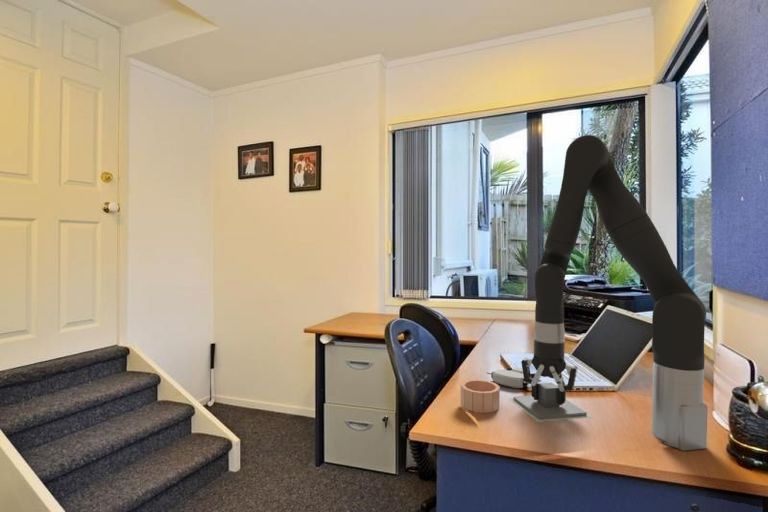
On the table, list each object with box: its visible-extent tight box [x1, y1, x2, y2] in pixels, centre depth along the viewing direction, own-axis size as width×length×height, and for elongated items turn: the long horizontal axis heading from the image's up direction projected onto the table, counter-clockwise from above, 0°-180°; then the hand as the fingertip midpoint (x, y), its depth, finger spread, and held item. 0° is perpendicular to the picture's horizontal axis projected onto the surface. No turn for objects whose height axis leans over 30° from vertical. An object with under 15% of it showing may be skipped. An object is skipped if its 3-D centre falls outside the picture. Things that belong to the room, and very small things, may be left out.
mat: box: [508, 397, 593, 423], centre depth 108 cm, size 15×15×1 cm
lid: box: [512, 382, 588, 420], centre depth 108 cm, size 13×13×6 cm
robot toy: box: [486, 367, 542, 389], centre depth 128 cm, size 12×4×15 cm
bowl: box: [460, 379, 501, 414], centre depth 110 cm, size 10×10×6 cm
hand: (548, 401), depth 108 cm, fingers closed on lid, 5 cm apart
